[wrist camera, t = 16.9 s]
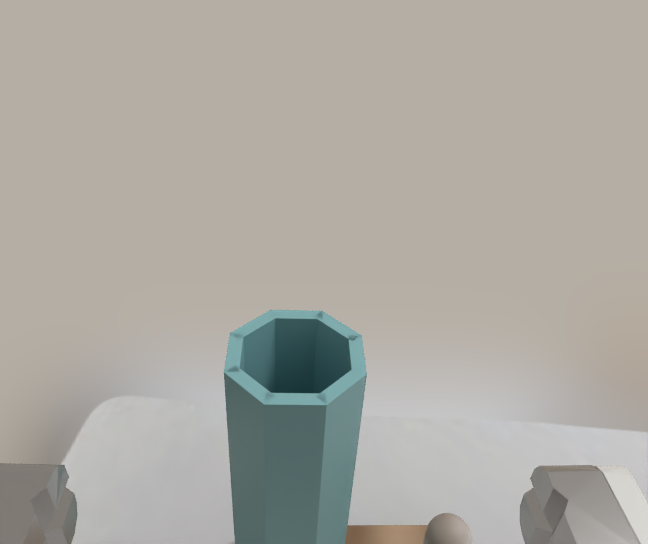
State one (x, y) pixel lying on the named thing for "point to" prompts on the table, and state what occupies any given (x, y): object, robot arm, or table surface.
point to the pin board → (413, 532)
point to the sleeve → (293, 426)
